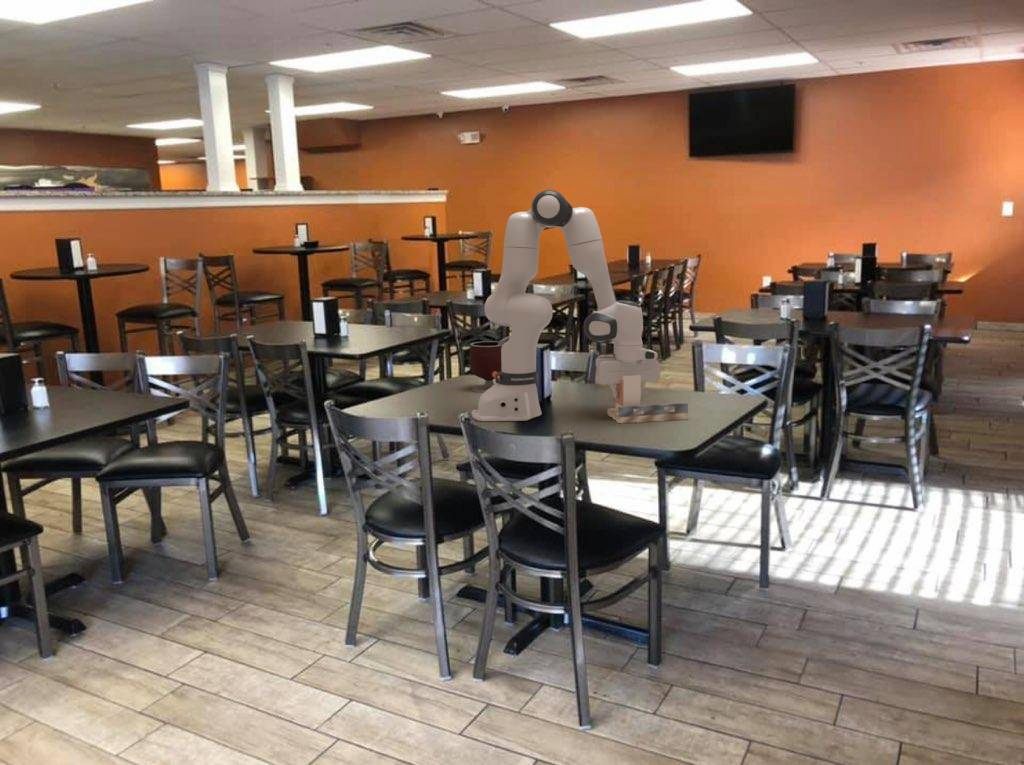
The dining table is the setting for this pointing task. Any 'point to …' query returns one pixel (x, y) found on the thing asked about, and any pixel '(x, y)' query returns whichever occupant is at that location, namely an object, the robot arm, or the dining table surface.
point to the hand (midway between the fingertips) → (627, 396)
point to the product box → (629, 391)
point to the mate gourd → (486, 361)
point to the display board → (650, 413)
